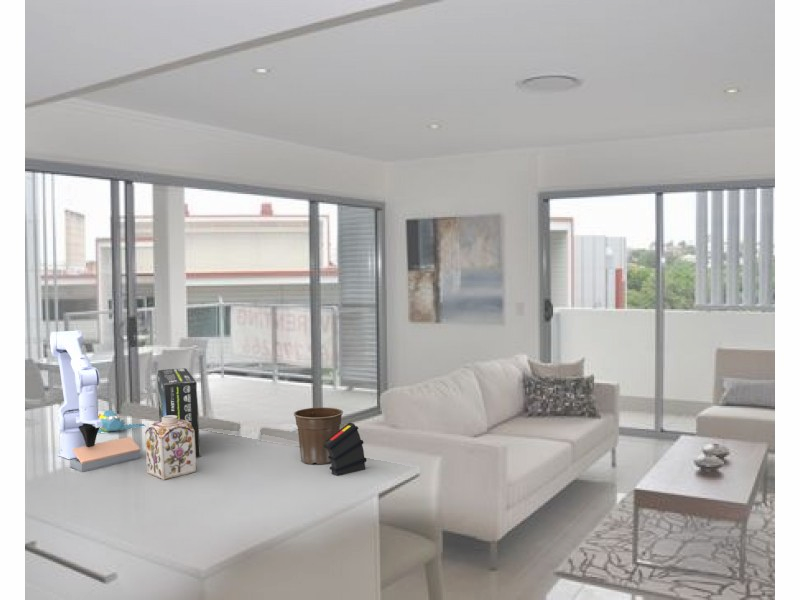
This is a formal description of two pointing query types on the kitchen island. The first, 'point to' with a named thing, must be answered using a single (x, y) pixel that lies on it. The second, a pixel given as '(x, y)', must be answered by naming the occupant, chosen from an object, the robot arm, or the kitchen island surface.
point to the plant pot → (316, 432)
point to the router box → (179, 398)
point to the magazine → (346, 450)
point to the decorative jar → (170, 448)
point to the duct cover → (106, 450)
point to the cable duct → (103, 461)
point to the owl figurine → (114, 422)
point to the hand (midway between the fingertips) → (90, 446)
